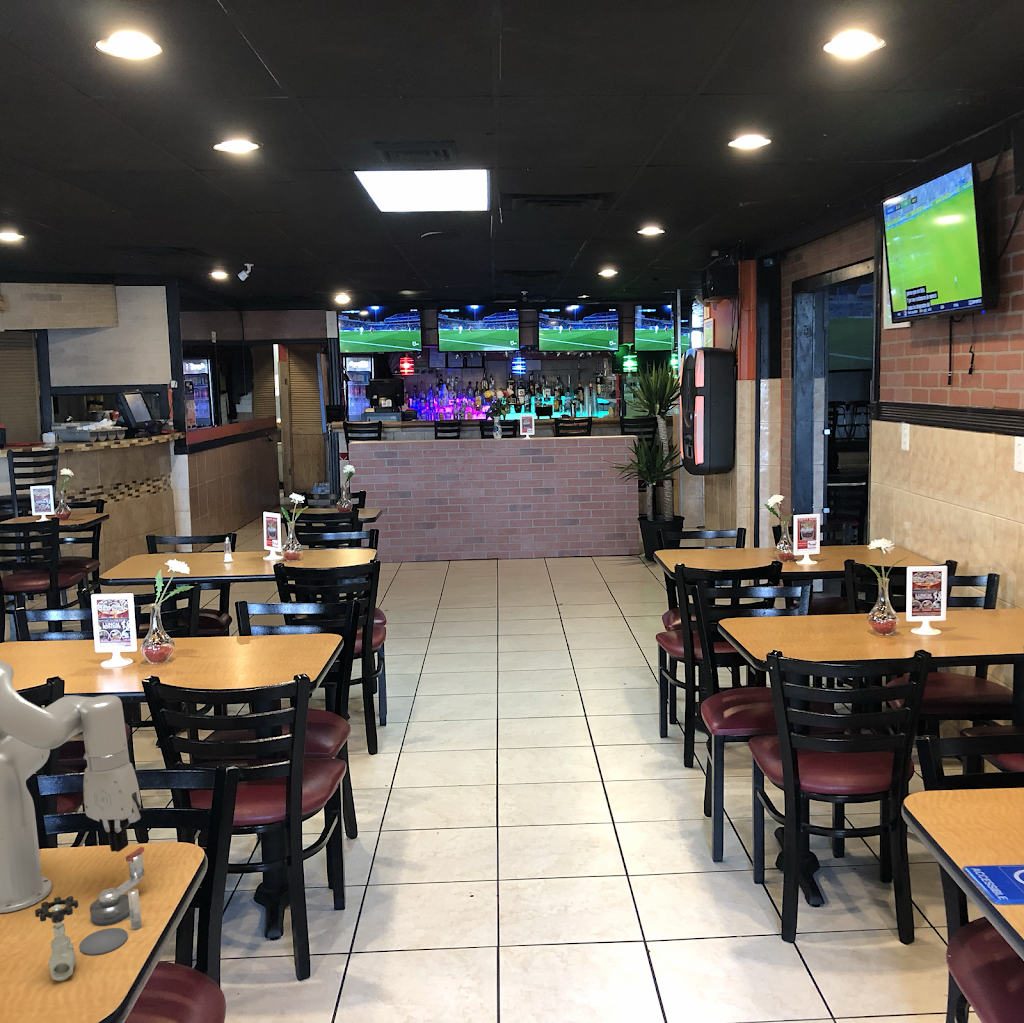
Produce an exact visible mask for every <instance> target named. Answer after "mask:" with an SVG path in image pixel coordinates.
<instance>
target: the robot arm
mask: <svg viewBox="0 0 1024 1023" xmlns="http://www.w3.org/2000/svg"><path fill="white" fill-rule="evenodd" d="M14 671H15V670H14V668H13V666H11V665H10V664H9V663H7V662H5V661H4V660H1V659H0V914H4V913H5V914H6V913H12V912H15V911H21V910H23V909H26V908H29V907H31V906H34V905H35V904H37V903H39V902H41V901H42V900H43V899H45V898H46V897H47V896H48V895H49V894H50V893H51V891H52V889H53V887H52V886H53V885H52V881H51V879H49V878H47V877H45V876H43V875H42V865H41V857H40V856H41V855H40V847H39V846H40V845H39V837H38V836H39V835H38V829H37V820H36V811H35V810H36V809H35V805H34V804H35V803H34V800H33V799H34V798H33V797H32V795H31V793H30V791H29V789H28V787H27V783H26V782H27V780H28V779H29V778H30V777H31V776H32V775H33V774H35V773H36V772H38V770H40V769H42V767H43V766H44V765H45V764H46V763H47V761H48V759H49V757H50V754H51V750H53V749H57V748H59V747H61V746H63V744H65V743H66V742H67V741H69V740H70V739H71V738H72V737H74V736H76V735H78V734H80V733H82V735H83V741H84V742H83V743H84V749H85V753H84V755H83V759H84V761H86V763H87V765H86V768H85V769H84V774H83V782H82V784H83V785H82V786H83V789H82V790H83V792H82V793H83V805H84V811H85V812H84V813H85V815H86V817H88V818H89V819H92V820H94V821H97V822H99V823H101V825H102V826H103V828H104V831H105V832H106V833H108V839H109V846H110V852H113V853H114V852H115V853H117V852H118V853H119V852H121V851H122V850H124V849H125V848H126V847H128V845H129V838H128V829H127V828H128V827H129V826H130V824H132V823H137V822H138V821H139V820H141V814H140V812H139V811H140V810H141V807H142V802H141V801H142V800H141V794H140V787H139V783H138V778H137V775H136V772H135V769H134V766H133V763H132V762H130V755H129V749H128V739H127V733H126V724H125V716H124V715H125V714H124V708H123V702H122V700H121V698H120V697H119V696H117V695H112V694H104V695H98V696H94V697H93V696H81V695H67V696H63V697H61V698H58V699H57V700H56V701H53V703H50V704H49V705H48V706H45V707H44V708H42V707H40V706H38V705H36V704H35V703H32V702H31V701H28V700H27V699H25V698H24V697H23V696H21V695H20V694H19V692H17V691H16V689H15V687H14V685H13V678H14V674H15V672H14Z"/></svg>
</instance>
